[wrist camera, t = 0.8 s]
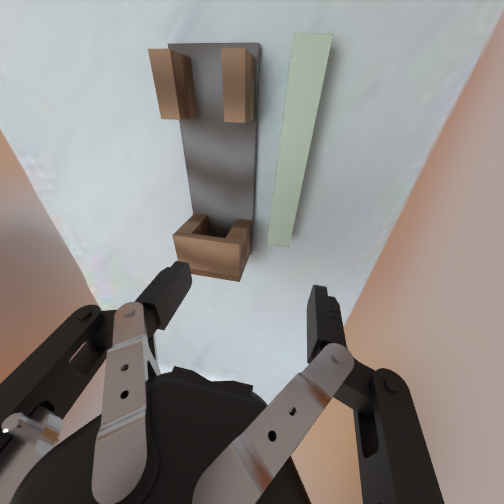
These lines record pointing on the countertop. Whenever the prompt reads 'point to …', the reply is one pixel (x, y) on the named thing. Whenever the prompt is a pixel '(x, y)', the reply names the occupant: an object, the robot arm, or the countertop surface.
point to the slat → (297, 130)
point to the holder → (214, 148)
